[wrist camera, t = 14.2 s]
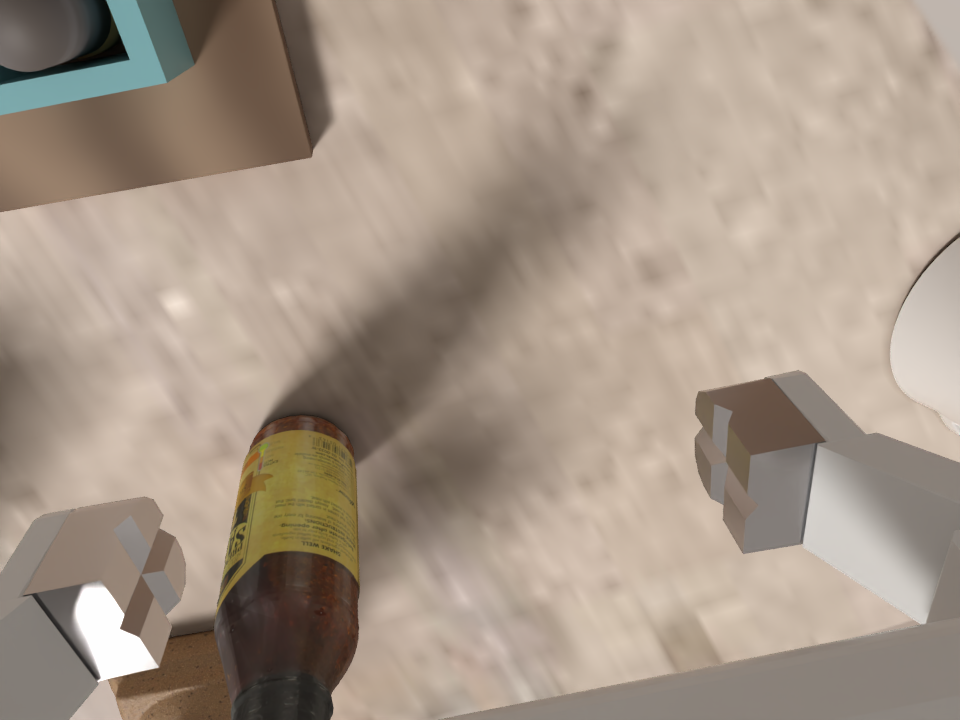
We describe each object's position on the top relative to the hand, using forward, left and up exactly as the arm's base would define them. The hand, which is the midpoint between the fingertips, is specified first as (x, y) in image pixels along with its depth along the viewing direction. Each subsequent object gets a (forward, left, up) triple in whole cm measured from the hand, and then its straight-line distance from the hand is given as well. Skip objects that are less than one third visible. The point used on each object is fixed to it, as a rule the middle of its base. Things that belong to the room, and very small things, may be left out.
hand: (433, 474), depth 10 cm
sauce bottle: (+8, +17, -25) cm, 32 cm away
